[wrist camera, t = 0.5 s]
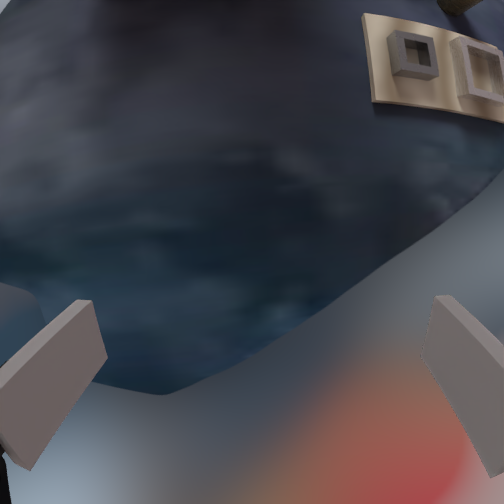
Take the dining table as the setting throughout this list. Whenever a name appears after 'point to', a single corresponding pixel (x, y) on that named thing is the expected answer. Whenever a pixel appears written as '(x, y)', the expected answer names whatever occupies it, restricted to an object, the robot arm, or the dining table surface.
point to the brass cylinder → (456, 6)
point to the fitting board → (433, 68)
